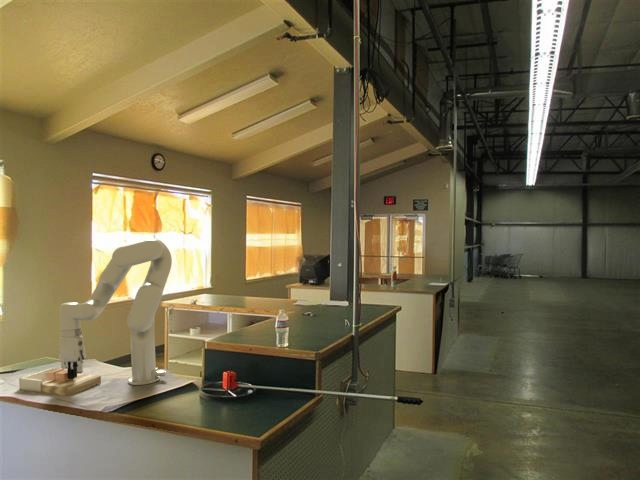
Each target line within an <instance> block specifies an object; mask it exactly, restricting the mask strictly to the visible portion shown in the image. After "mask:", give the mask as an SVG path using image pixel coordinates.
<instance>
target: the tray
mask: <svg viewBox="0 0 640 480" xmlns="http://www.w3.org/2000/svg"><path fill="white" fill-rule="evenodd" d="M59 369H63V368H61V367H50V368H47V369H44V370H42V371H39V372H36V373H31V374H29V375H25V376H21V377H19V378H18V382H19V383H18V384H19V390H22V391H23V390H24V391H30V392H38V393H42V392H41V384H44V383H47V382H49V381H46V376H45V373H48V372H51V371H54V370H59ZM64 370H67V369H64ZM51 381H52V380H51Z"/></svg>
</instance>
